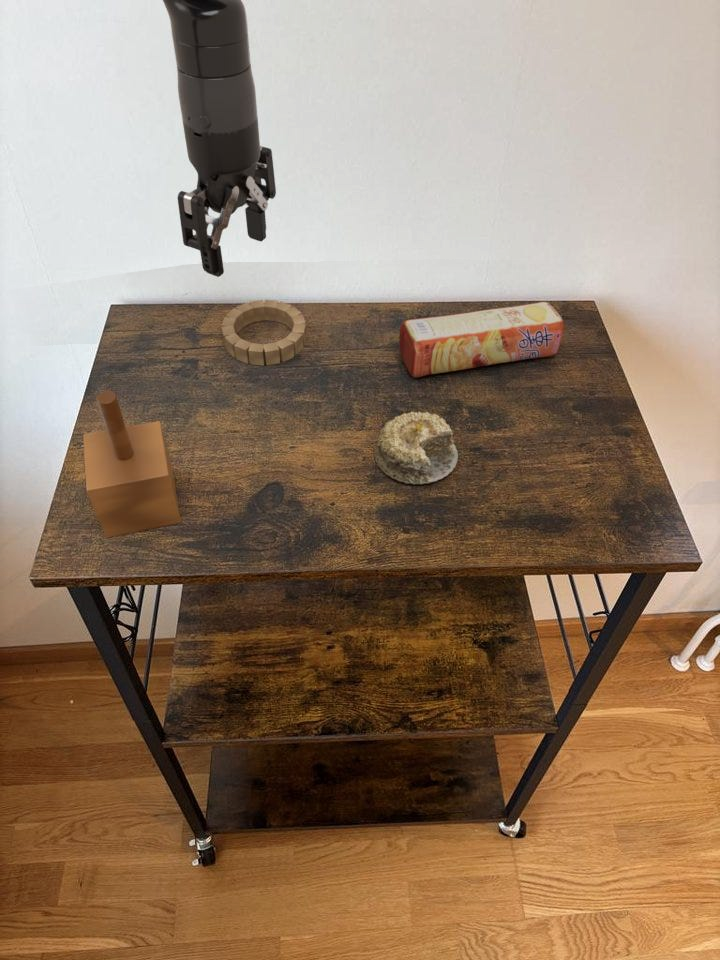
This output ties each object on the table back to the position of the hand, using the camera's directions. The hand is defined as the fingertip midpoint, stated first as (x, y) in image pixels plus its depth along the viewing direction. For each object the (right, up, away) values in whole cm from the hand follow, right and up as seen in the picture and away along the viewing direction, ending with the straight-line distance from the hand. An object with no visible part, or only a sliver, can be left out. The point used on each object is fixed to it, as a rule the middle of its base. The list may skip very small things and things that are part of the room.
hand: (236, 255), depth 86 cm
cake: (+21, -24, +2) cm, 32 cm away
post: (-10, -29, -4) cm, 31 cm away
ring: (+1, -7, +15) cm, 17 cm away
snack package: (+30, -10, +14) cm, 35 cm away
